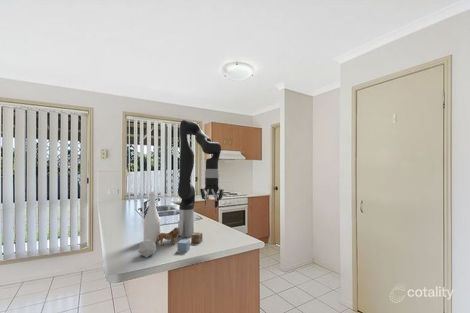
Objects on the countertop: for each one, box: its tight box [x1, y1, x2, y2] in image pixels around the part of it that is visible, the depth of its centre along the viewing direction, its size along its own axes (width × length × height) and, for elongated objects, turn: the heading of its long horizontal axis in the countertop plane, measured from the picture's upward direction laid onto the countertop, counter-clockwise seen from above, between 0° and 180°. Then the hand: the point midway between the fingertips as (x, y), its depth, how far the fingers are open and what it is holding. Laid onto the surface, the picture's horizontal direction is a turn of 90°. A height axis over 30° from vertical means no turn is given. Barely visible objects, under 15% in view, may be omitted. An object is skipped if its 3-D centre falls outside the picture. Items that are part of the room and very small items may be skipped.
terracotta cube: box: [205, 197, 216, 210], centre depth 135 cm, size 5×5×5 cm
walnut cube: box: [190, 232, 203, 245], centre depth 142 cm, size 5×5×5 cm
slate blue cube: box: [177, 239, 190, 253], centre depth 128 cm, size 5×5×5 cm
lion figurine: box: [155, 227, 180, 247], centre depth 139 cm, size 15×5×9 cm, turn 116°
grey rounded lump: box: [137, 239, 157, 258], centre depth 122 cm, size 8×9×10 cm
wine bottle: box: [143, 190, 161, 244], centre depth 144 cm, size 10×10×30 cm
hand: (211, 206), depth 135 cm, fingers closed on terracotta cube, 5 cm apart
